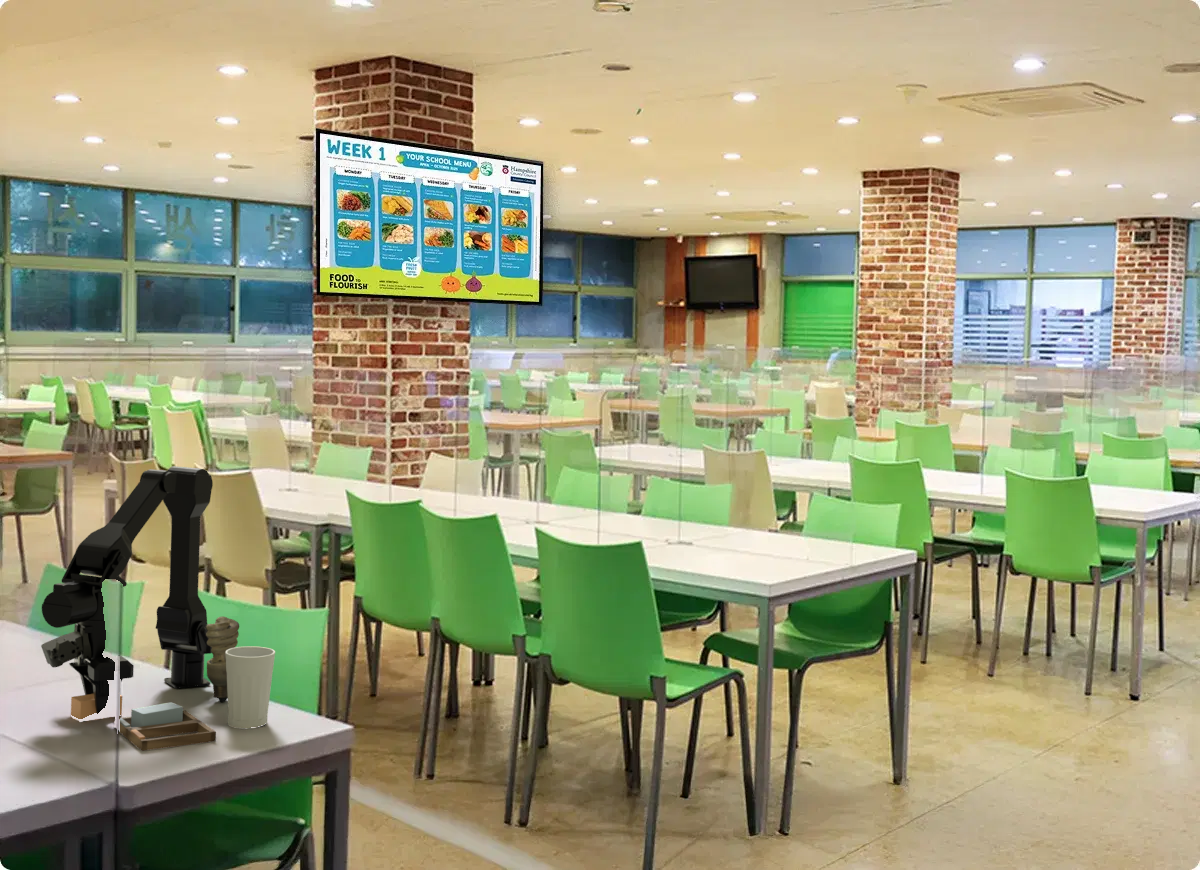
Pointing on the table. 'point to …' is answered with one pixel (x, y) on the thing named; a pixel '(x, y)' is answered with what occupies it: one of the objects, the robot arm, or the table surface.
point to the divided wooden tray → (167, 733)
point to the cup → (248, 685)
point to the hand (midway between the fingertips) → (95, 710)
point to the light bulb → (220, 653)
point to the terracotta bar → (85, 706)
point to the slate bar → (156, 715)
